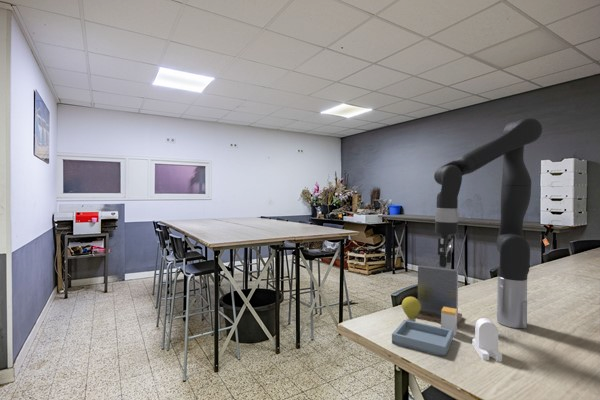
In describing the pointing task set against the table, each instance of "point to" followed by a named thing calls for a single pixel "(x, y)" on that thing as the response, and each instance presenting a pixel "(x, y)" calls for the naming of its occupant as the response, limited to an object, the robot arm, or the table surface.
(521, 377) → the table surface
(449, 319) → the cartridge
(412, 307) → the light bulb
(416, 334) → the tray
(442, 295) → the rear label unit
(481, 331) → the cable organizer
